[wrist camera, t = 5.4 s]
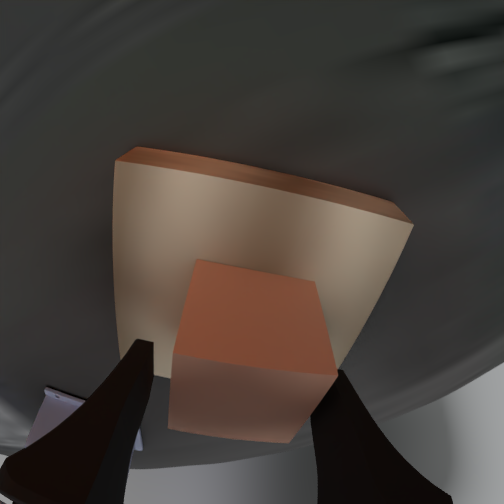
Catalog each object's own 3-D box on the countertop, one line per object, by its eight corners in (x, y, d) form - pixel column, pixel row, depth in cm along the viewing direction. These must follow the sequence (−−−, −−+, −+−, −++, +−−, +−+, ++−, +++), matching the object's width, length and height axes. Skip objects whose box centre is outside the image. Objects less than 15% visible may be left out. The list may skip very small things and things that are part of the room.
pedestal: (134, 332, 19) (121, 367, 17) (140, 143, 13) (115, 160, 11) (313, 362, 20) (318, 398, 18) (388, 197, 15) (413, 224, 12)
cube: (184, 342, 15) (167, 428, 11) (196, 258, 13) (172, 352, 8) (281, 357, 16) (288, 442, 12) (314, 281, 13) (338, 375, 9)
